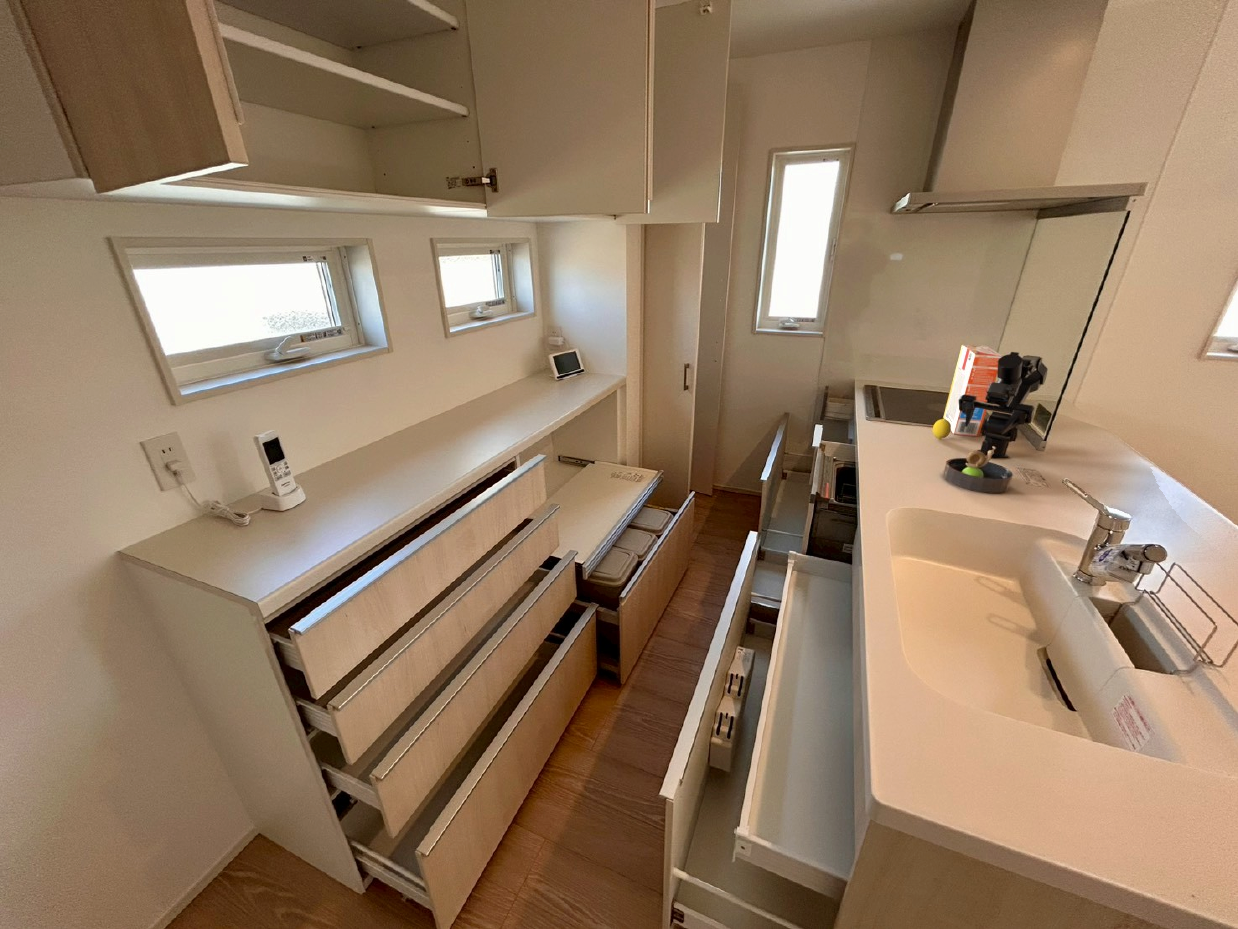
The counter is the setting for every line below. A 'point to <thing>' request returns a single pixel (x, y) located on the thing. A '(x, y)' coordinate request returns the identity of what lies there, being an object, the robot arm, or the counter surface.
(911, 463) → the counter surface
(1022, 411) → the robot arm
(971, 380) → the red and white box
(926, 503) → the counter surface
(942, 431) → the lemon
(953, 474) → the pan
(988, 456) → the snail figurine
